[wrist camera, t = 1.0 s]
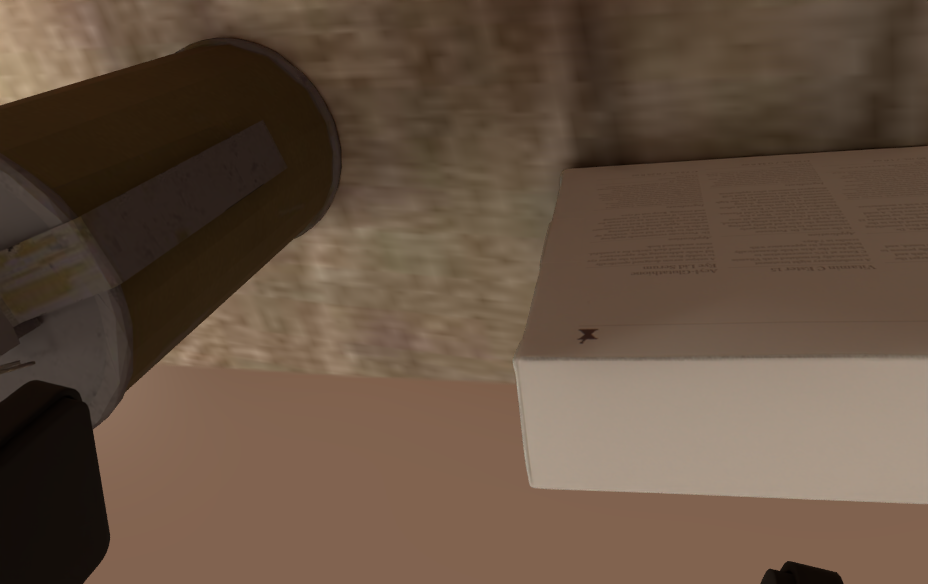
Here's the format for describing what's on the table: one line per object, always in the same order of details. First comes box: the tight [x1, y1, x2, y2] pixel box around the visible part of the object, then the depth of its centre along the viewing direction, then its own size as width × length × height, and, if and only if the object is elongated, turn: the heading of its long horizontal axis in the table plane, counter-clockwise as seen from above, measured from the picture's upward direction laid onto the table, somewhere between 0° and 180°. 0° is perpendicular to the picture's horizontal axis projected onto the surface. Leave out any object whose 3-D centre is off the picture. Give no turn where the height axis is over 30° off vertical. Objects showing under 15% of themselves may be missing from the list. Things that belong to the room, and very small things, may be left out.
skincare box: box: [513, 146, 928, 504], centre depth 26 cm, size 21×6×16 cm, turn 98°
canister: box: [0, 38, 341, 429], centre depth 28 cm, size 11×10×20 cm
